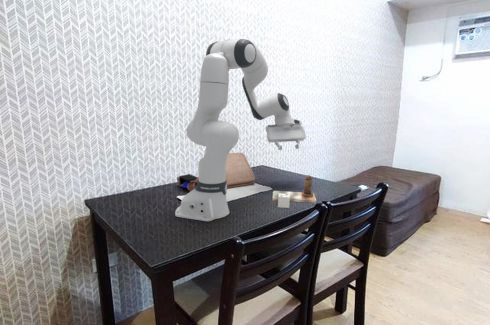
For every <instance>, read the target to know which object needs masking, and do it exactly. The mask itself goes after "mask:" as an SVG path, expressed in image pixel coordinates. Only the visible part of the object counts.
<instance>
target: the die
mask: <svg viewBox="0 0 490 325" xmlns="http://www.w3.org/2000/svg"><path fill="white" fill-rule="evenodd" d="M290 202H291V201H290V194H282V193H279V196H278V201H277V208H284V209H290Z"/></svg>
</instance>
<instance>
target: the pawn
mask: <svg viewBox="0 0 490 325" xmlns="http://www.w3.org/2000/svg"><path fill="white" fill-rule="evenodd" d="M312 189H313V178H312V175H306V176H305V178H304V184H303V192H302V196H303V197H308V198H309V197H313V193H314V192H312Z"/></svg>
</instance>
